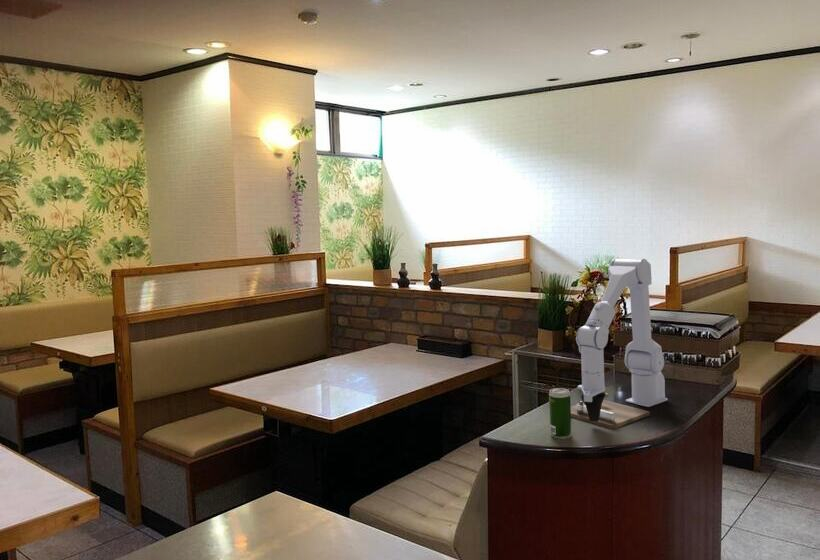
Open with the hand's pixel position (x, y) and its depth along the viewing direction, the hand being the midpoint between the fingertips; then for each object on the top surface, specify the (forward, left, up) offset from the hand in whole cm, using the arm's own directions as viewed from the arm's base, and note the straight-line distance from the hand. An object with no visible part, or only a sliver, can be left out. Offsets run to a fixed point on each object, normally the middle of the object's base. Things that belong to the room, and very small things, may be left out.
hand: (594, 420), depth 174 cm
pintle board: (-10, -5, -2) cm, 11 cm away
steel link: (-4, -3, 0) cm, 5 cm away
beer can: (+11, -2, -2) cm, 11 cm away
